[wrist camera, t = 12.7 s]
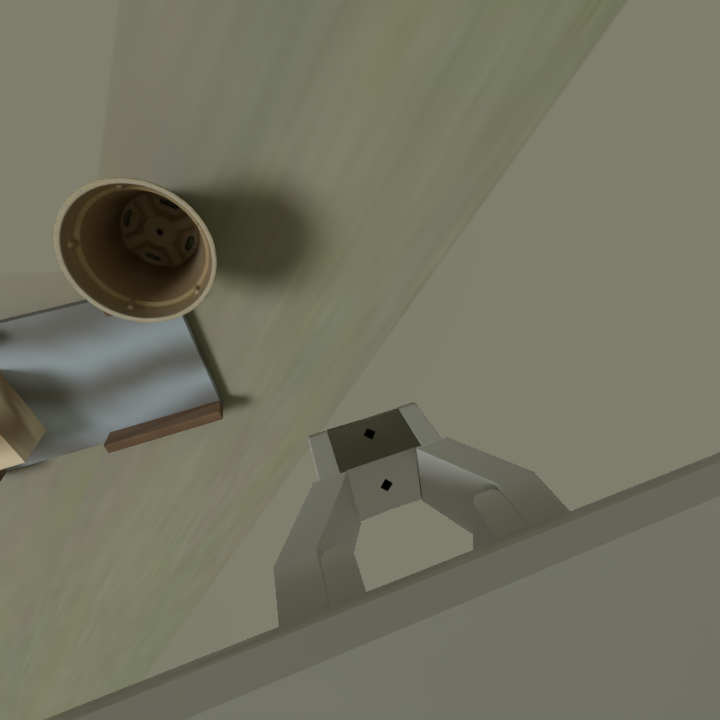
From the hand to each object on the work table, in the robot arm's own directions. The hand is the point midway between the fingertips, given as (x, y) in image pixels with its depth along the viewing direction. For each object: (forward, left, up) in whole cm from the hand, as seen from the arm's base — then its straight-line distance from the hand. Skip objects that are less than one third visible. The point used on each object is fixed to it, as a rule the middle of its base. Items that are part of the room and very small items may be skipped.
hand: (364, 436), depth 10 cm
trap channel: (+9, -22, -29) cm, 38 cm away
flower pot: (-2, -9, -29) cm, 31 cm away
